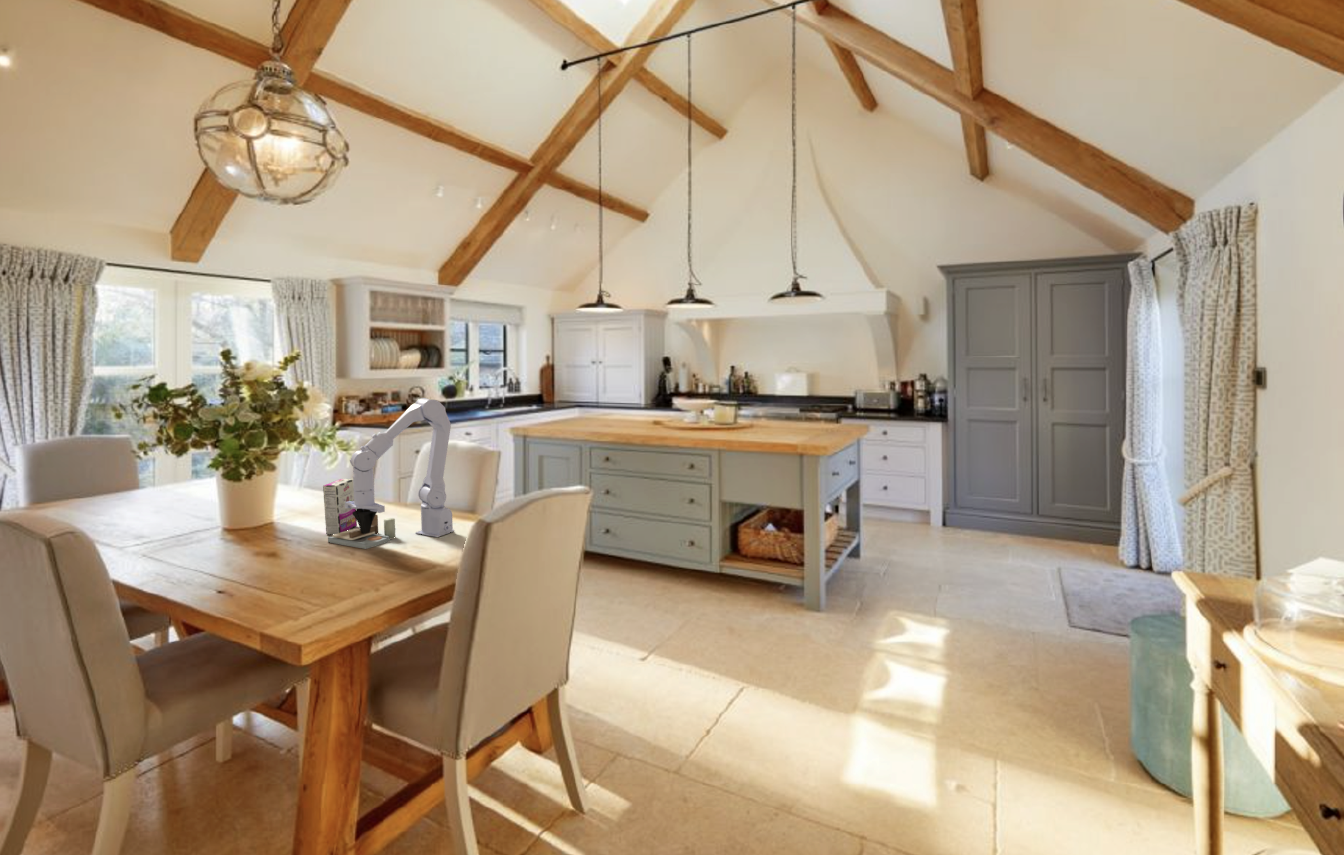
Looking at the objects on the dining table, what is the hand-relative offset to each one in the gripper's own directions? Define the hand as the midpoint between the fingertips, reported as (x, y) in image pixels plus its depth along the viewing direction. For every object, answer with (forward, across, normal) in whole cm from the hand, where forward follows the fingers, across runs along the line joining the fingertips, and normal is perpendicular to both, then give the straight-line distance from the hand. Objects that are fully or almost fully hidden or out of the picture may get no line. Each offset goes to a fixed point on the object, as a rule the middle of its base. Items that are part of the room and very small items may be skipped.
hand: (365, 532), depth 201 cm
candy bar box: (+3, -19, +7) cm, 21 cm away
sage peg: (+3, +2, +8) cm, 8 cm away
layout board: (+3, -3, 0) cm, 4 cm away
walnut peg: (+3, -7, +8) cm, 11 cm away
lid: (+1, -5, 0) cm, 5 cm away
